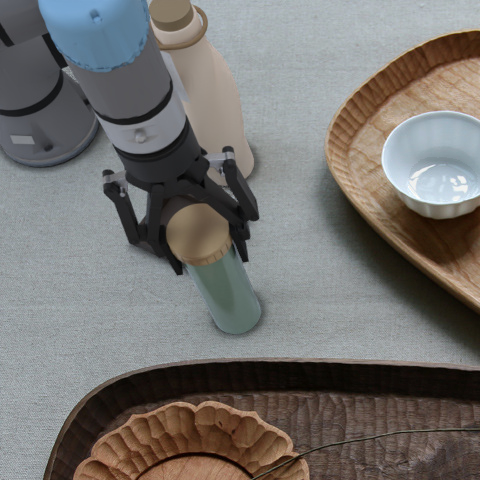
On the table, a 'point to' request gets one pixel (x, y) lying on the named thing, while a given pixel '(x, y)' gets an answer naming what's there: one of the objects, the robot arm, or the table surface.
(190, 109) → the water bottle
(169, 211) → the lid tray
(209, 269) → the thermos flask
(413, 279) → the table surface
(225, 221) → the lid
